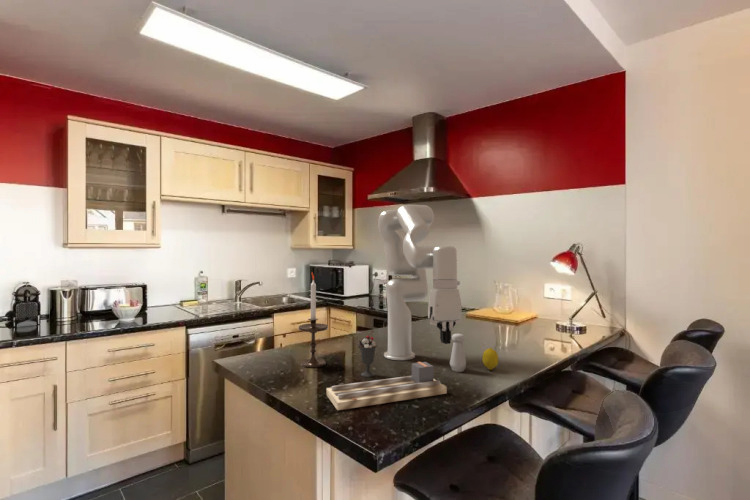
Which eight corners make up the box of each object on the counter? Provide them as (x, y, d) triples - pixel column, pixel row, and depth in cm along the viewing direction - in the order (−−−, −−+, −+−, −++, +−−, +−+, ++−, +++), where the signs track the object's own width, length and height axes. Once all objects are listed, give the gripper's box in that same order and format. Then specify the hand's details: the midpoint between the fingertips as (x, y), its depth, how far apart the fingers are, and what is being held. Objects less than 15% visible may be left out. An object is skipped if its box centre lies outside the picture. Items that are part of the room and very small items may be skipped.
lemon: (499, 372, 135) (499, 350, 135) (482, 371, 136) (483, 349, 137) (497, 368, 141) (497, 346, 141) (481, 367, 142) (481, 345, 142)
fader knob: (419, 384, 116) (419, 366, 116) (411, 379, 121) (411, 362, 121) (433, 382, 118) (433, 365, 118) (425, 377, 123) (425, 360, 123)
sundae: (380, 372, 135) (380, 330, 135) (373, 378, 129) (373, 334, 129) (362, 370, 137) (362, 328, 137) (355, 376, 131) (355, 332, 131)
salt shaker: (448, 367, 141) (448, 332, 141) (463, 367, 142) (463, 332, 142) (452, 373, 135) (452, 336, 135) (468, 372, 136) (468, 335, 136)
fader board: (337, 410, 103) (337, 398, 103) (326, 394, 114) (326, 384, 115) (446, 393, 116) (446, 382, 116) (427, 380, 127) (427, 371, 127)
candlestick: (293, 363, 146) (293, 271, 146) (317, 358, 153) (317, 270, 153) (308, 370, 138) (308, 272, 138) (333, 364, 145) (333, 271, 145)
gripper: (458, 283, 129) (459, 338, 128) (418, 285, 123) (419, 342, 123) (471, 284, 122) (472, 343, 121) (430, 286, 116) (430, 347, 116)
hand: (445, 342), depth 122 cm, fingers closed
